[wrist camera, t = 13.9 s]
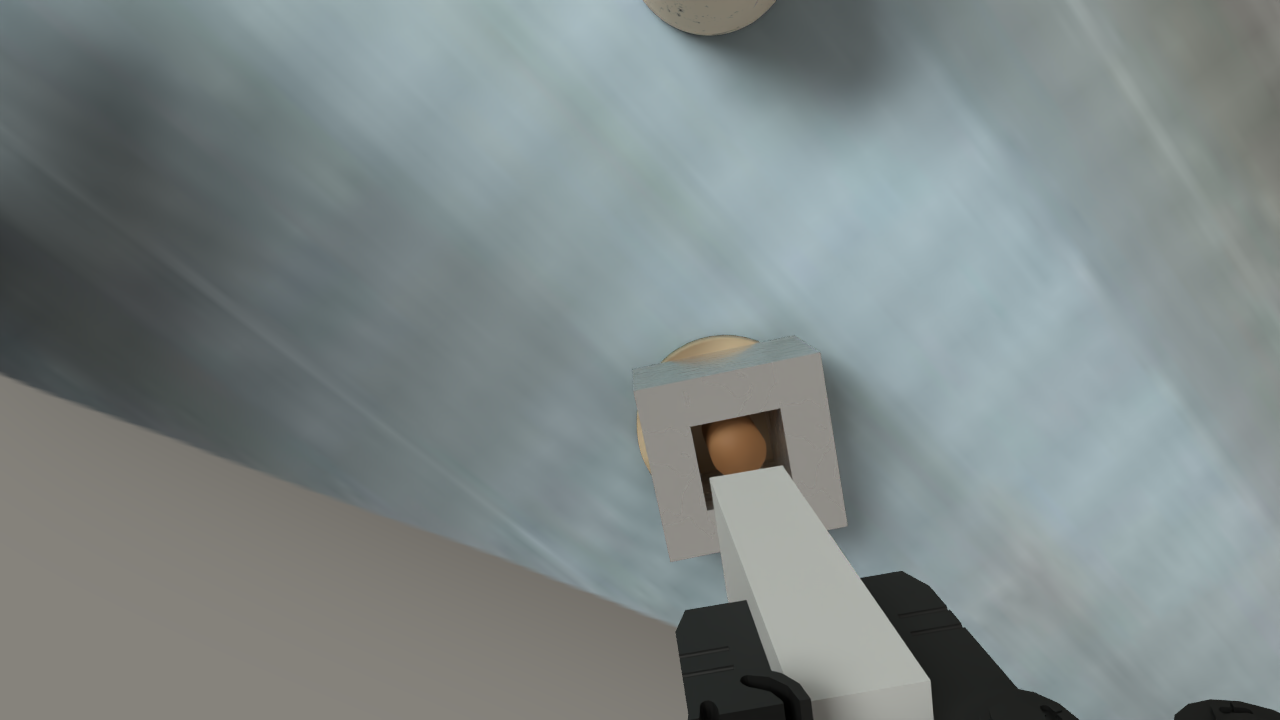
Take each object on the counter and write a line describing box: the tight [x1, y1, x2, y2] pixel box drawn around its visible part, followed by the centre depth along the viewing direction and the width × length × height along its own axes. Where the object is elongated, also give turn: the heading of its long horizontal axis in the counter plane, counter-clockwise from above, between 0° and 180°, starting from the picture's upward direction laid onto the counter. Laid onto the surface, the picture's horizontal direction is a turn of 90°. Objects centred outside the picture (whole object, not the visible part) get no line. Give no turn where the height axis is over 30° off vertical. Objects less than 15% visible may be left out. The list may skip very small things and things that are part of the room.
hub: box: [637, 335, 773, 475], centre depth 37 cm, size 10×10×6 cm
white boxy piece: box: [632, 335, 848, 562], centre depth 36 cm, size 9×9×5 cm
